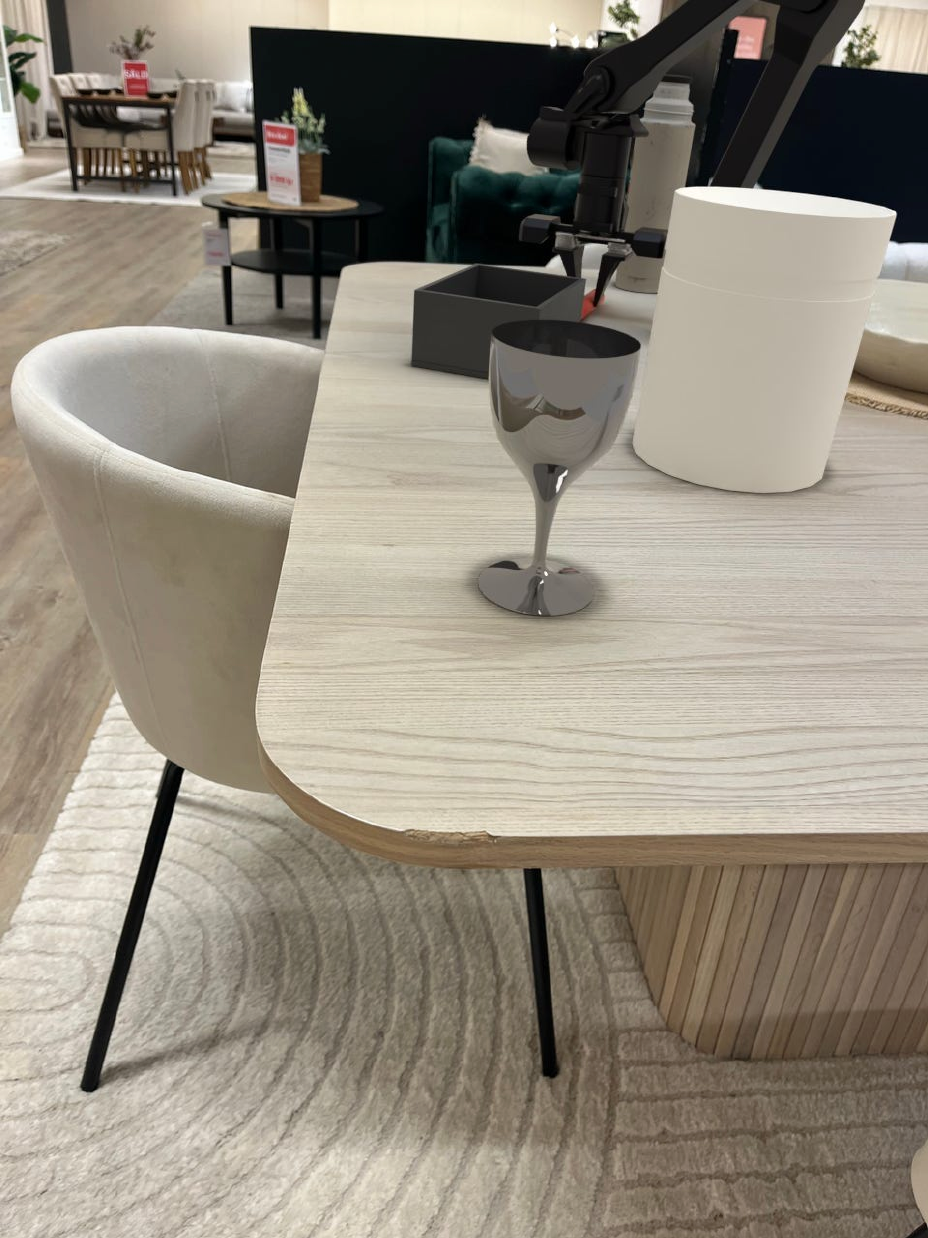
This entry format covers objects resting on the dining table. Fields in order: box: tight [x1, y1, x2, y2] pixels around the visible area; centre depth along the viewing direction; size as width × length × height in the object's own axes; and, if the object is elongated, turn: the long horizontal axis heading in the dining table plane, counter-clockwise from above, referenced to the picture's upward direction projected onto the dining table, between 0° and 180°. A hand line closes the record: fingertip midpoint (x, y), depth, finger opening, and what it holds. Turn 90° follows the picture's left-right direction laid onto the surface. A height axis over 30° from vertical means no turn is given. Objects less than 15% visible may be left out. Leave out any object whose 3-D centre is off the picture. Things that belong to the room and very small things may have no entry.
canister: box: [632, 186, 898, 494], centre depth 74 cm, size 16×16×20 cm
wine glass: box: [477, 320, 642, 617], centre depth 53 cm, size 8×8×15 cm
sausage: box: [581, 288, 606, 320], centre depth 122 cm, size 14×2×2 cm, turn 159°
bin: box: [410, 263, 587, 380], centre depth 100 cm, size 18×13×8 cm
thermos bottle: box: [614, 74, 696, 294], centre depth 134 cm, size 8×8×28 cm
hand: (586, 305), depth 122 cm, fingers closed
